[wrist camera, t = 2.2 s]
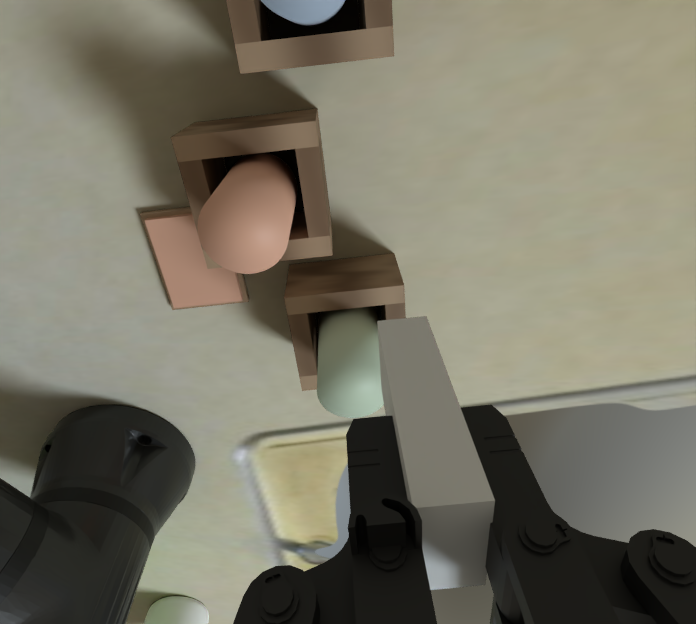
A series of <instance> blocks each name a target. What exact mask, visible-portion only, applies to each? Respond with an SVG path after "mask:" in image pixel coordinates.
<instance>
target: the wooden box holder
mask: <svg viewBox="0 0 696 624" xmlns="http://www.w3.org/2000/svg"><path fill="white" fill-rule="evenodd" d="M226 3H227V8H228V13H229V18H230V23H231V28H232V33H233V39H234V44H235V49H236V54H237V59H238V64H239V69H240V74H244V73H253V72H261V71H270V70H279V69H287V68H296V67H305V66H313V65H322V64H330V63H339V62H348V61H356V60H365V59H374V58H382V57H391V56H394V42H393V19H392V0H358V13H359V26H360V30H353V31H345V32H336V33H328V34H319V35H311V36H302V37H294V38H285V39H276V40H272V39H271V33H270V27H269V21H268V14H267V8H266V5H265V4H264V3H263V2H262V1H261V0H226Z"/></svg>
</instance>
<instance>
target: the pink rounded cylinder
mask: <svg viewBox="0 0 696 624" xmlns="http://www.w3.org/2000/svg"><path fill="white" fill-rule="evenodd" d="M297 193H298V187H297V181H296V178H295V175H294V173H293V171H292V170H291V168H290V167H289V166H288V165H287V164H286V163H285V162H284V161H283V160H282V159H280V158H279V157H277V156H275V155H272V154H269V153H255V154H248V155H245V156H243V157H242V158H240V159H239V160H238V161H237V162H236V163H235V164H234V165H233V167H232V168H231V169H230V171H229V172H228V174H227V175H226V176H225V178H224V179H223V180H222V182H221V183H220V184H219V186H218V187H217V188H216V190H215V191H214V192H213V194H212V195H211V196H210V198H209V199H208V200H207V202H206V203H205V204H204V206H203V208H202V209H201V212H200V214H199V218H198V224H197V229H198V236H199V240H200V243H201V245H202V247H203V249H204V250H205V252H206V253H207V254H208V256H209V257H210V258H211V259H212V260H213V261H214V262H216V263H217V264H218V265H220V266H221V267H223V268H225V269H227V270H230V271H233V272H236V273H242V274H253V273H259V272H262V271H265V270H267V269H269V268H271V267H272V266H274V265H275V264H276V263H277V262H278V261H279V260H280V259H281V258H282V256H283V255H284V253H285V251H286V248H287V245H288V241H289V235H290V230H291V225H292V220H293V215H294V209H295V204H296V199H297Z"/></svg>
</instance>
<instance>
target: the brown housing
mask: <svg viewBox="0 0 696 624" xmlns="http://www.w3.org/2000/svg"><path fill="white" fill-rule="evenodd" d="M171 140H172V143H173V147H174V151H175V154H176V158H177V161H178V165H179V168H180V172H181V176H182V179H183V183H184V186H185V190H186V193H187V197H188V200H189V204H190V208H191V211H192V215H193V218H194V222H195V225H196V229H197V224H198V218H199V214H200V212H201V209H202V208H203V206H204V204H205V203H206V202H207V200H208V199H209V198H210V196H211V195H212V194H213V192H214V191H215V190H216V188H217V187H218V186H219V184H220V183H221V182H222V180H223V179H224V178H225V176H226V175H227V170H226V166H225V161H224V157H228V156H237V155H246V154H255V153H264V152H273V151H281V150H290V149H295V151H296V158H297V165H298V171H299V178H300V184H301V191H302V197H303V204H304V210H305V211H303V212H294V215H293V220H292V225H291V230H290V235H289V241H288V245H287V248H286V251H285V253H284V255H283V256H282V258H281V259H280V260H279V261H286V260H295V259H304V258H314V257H323V256H332V255H333V251H332V223H331V215H330V207H329V199H328V191H327V183H326V175H325V167H324V159H323V151H322V143H321V135H320V127H319V118H318V110H317V109H308V110H300V111H291V112H282V113H273V114H265V115H256V116H247V117H238V118H230V119H221V120H212V121H203V122H195V123H193V124H191V125H190V126H188V127H187V128H185V129H183V130H182V131H180V132H179V133H177V134H176V135H174V136H172V137H171ZM197 233H198V229H197ZM201 247H202V245H201ZM202 250H203V254H204V257H205V261H206V265H207V268H208V269H212V268H222V267H221V266H220V265H218V264H217V263H216V262H214V261H213V260H212V259H211V258H210V257H209V256H208V254H207V253H206V252H205V250H204V249H203V247H202Z"/></svg>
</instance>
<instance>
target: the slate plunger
mask: <svg viewBox="0 0 696 624" xmlns="http://www.w3.org/2000/svg"><path fill="white" fill-rule="evenodd" d="M261 1H262V2H263V3H264V4H265V5H266V6H267V7H268V8H269V9H270V10H272V11H273V12H275V13H276V14H278V15H279V16H281V17H283V18H285V19H287V20H289V21H291V22H293V23H296V24H298V25H302V26H317V25H321V24H323V23H325V22H327V21H329V20H330V19H332V18H333V17H334V16H335V15H336V14H337V13H338V12H339V10H340V9H341V8H342V6H343V4H344V2H345V0H261Z"/></svg>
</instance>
